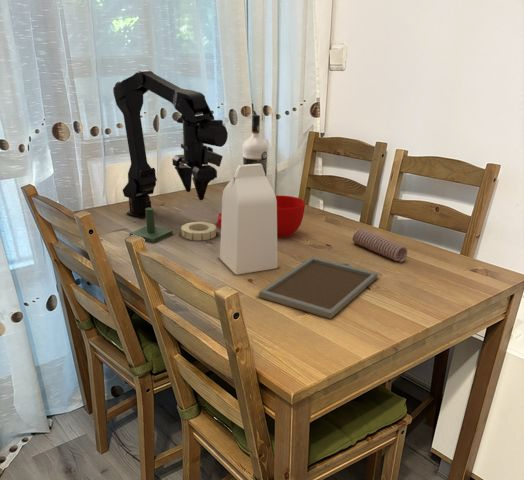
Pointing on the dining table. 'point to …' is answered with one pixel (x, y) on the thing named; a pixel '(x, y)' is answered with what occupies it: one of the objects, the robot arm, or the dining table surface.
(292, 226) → the ceramic cup
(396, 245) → the coil
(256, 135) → the vodka
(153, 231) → the peg stand
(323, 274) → the grey picture frame
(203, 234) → the ring
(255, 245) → the milk
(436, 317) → the dining table surface
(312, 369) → the dining table surface
